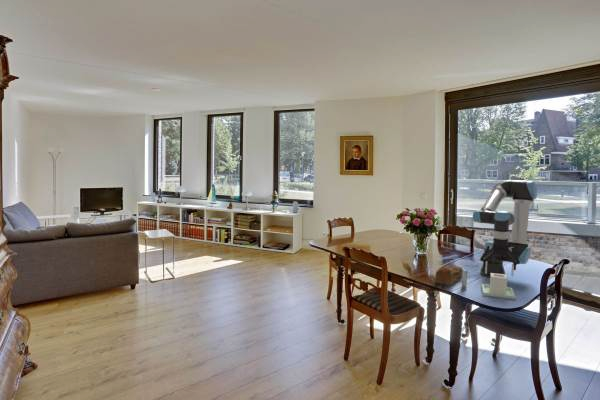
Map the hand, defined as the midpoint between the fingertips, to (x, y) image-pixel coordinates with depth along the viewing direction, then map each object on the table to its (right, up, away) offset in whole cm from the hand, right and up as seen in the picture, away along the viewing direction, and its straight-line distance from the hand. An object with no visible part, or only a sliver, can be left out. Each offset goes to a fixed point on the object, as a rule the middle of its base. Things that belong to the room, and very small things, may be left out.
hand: (498, 274), depth 219 cm
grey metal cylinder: (-17, -11, +8) cm, 21 cm away
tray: (0, -11, +1) cm, 11 cm away
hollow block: (0, -11, +1) cm, 11 cm away
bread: (-20, -9, +23) cm, 32 cm away
